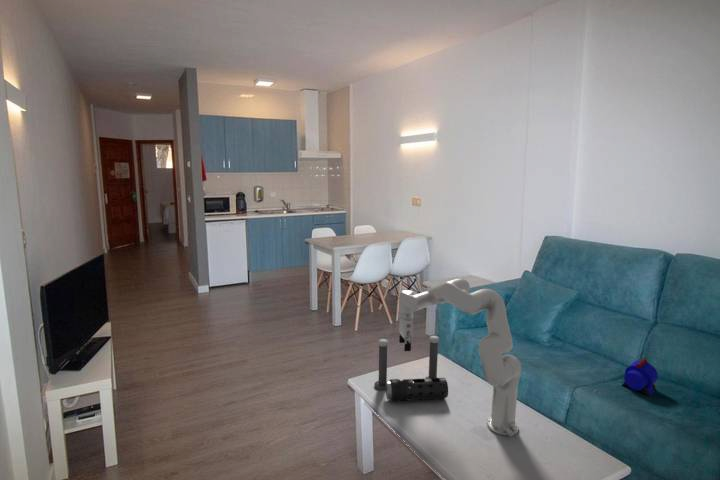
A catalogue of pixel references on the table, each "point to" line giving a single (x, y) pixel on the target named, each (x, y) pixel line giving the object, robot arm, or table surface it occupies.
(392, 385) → the muzzle brake
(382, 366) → the cord post
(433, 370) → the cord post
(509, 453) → the table surface
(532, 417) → the table surface
